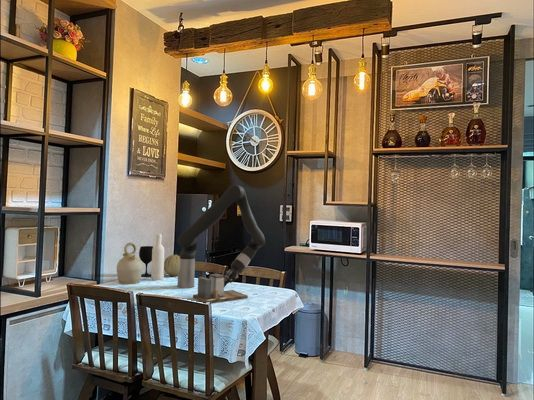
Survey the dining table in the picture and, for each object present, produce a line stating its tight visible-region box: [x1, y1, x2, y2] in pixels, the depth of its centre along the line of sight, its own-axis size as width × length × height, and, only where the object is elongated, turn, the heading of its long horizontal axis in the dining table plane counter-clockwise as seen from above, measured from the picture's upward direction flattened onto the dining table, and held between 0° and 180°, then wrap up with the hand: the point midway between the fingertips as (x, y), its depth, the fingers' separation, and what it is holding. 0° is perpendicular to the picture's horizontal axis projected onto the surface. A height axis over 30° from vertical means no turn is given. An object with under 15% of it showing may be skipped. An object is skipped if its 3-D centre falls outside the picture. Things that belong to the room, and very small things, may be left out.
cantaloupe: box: [164, 253, 180, 277], centre depth 277 cm, size 15×15×15 cm
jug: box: [116, 242, 144, 285], centre depth 250 cm, size 15×16×25 cm
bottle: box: [150, 233, 165, 281], centre depth 263 cm, size 8×8×30 cm
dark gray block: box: [197, 276, 211, 299], centre depth 210 cm, size 3×9×10 cm, turn 37°
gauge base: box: [192, 289, 249, 304], centre depth 216 cm, size 25×16×2 cm, turn 127°
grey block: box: [209, 273, 225, 297], centre depth 214 cm, size 5×10×11 cm, turn 37°
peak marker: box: [214, 290, 218, 298], centre depth 209 cm, size 1×2×4 cm, turn 37°
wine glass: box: [138, 245, 154, 278], centre depth 274 cm, size 10×10×20 cm
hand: (221, 287), depth 217 cm, fingers closed
